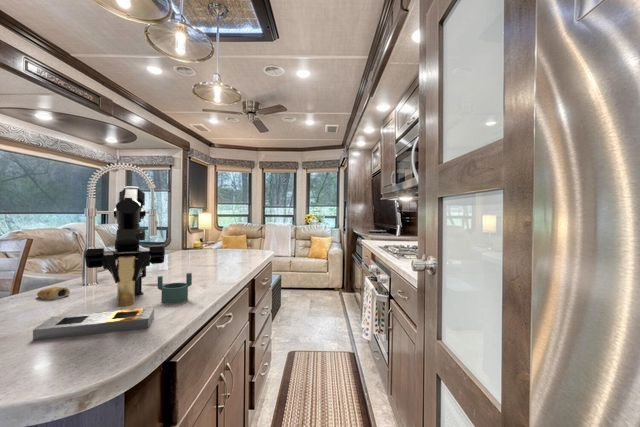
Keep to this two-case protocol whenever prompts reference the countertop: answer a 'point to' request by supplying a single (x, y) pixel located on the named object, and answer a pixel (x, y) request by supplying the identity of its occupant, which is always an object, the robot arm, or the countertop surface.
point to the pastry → (53, 293)
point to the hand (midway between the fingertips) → (126, 281)
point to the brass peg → (126, 281)
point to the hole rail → (94, 323)
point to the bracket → (174, 290)
